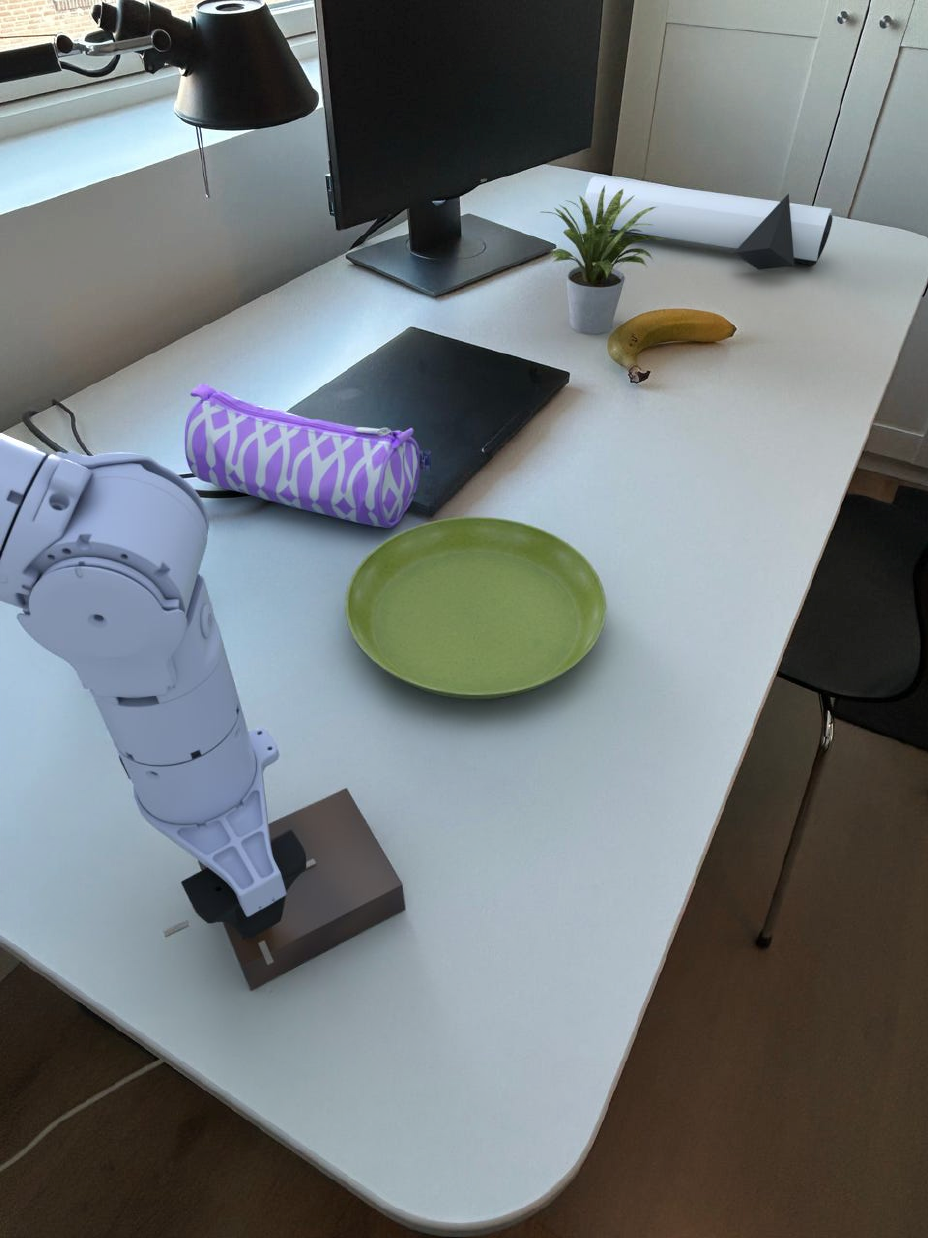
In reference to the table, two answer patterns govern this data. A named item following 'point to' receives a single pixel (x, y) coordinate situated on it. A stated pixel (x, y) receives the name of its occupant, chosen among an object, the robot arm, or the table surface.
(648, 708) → the table surface
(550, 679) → the green plate
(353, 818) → the stand
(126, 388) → the table surface
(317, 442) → the pencil case
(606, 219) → the house plant
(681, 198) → the diploma
